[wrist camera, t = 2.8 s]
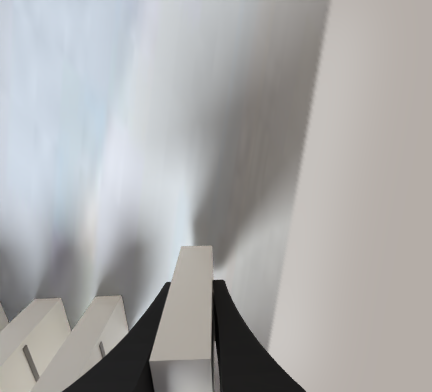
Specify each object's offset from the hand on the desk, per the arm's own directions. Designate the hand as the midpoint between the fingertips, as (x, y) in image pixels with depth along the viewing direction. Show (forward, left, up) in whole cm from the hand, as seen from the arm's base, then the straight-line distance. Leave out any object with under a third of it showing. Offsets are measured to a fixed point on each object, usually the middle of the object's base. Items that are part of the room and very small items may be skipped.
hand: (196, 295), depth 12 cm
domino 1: (-5, +12, -3) cm, 13 cm away
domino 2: (-5, +7, -4) cm, 9 cm away
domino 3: (0, 0, -2) cm, 2 cm away
